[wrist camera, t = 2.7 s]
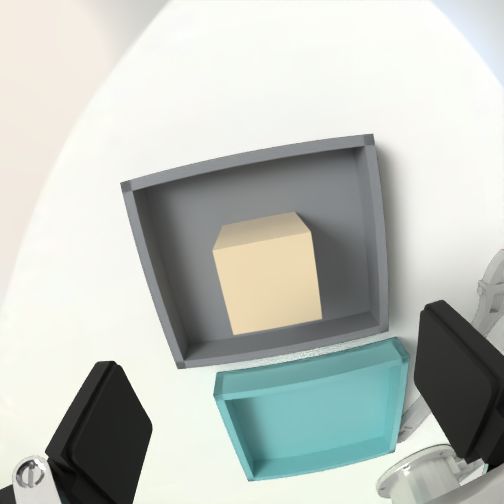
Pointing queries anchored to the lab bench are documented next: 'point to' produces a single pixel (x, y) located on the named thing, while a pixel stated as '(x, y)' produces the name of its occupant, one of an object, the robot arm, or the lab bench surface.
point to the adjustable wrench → (489, 311)
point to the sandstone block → (267, 273)
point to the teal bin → (315, 410)
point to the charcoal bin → (253, 207)
